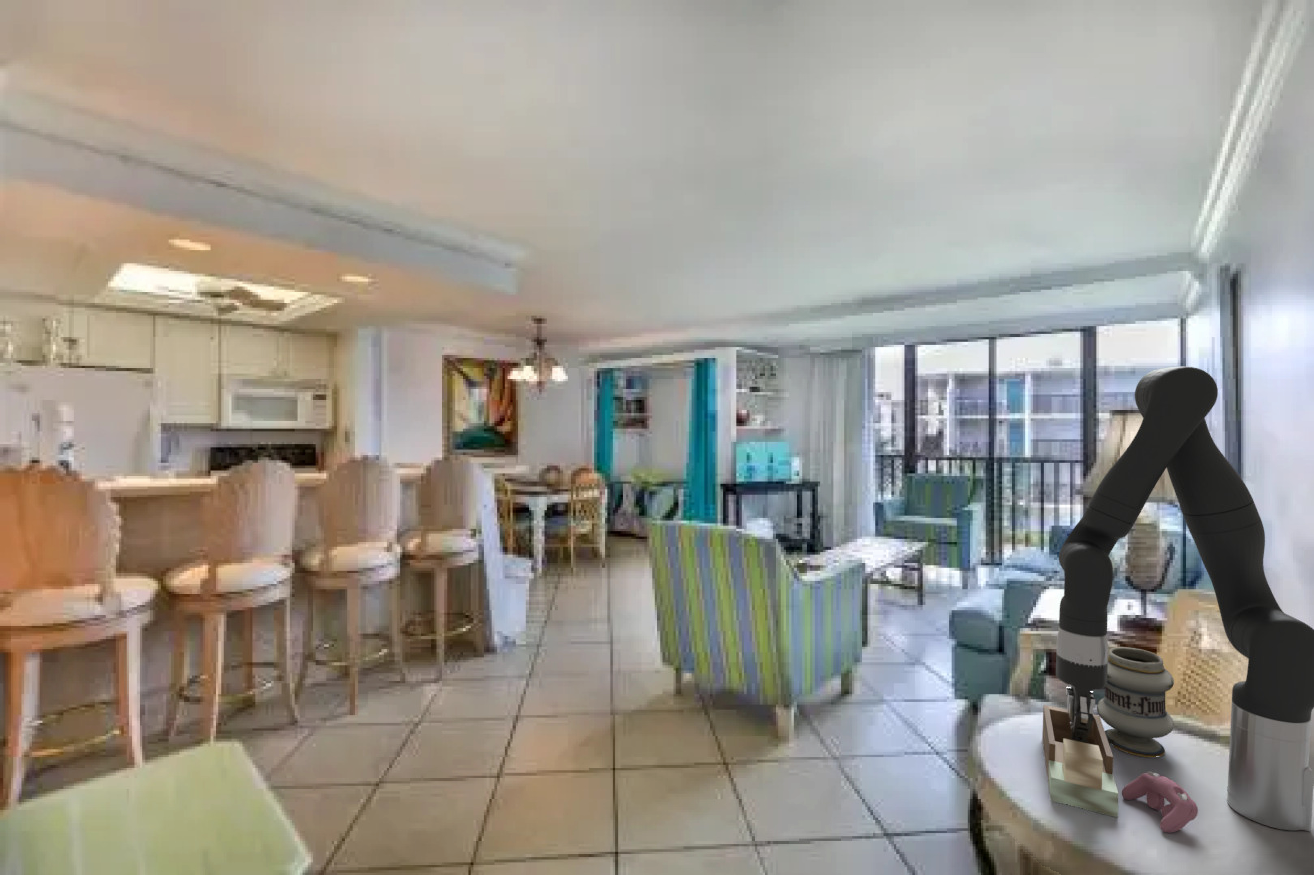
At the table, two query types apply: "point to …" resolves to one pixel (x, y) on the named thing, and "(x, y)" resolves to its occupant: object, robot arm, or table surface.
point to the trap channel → (1061, 791)
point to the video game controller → (1156, 791)
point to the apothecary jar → (1136, 701)
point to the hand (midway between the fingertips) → (1078, 751)
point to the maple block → (1082, 764)
